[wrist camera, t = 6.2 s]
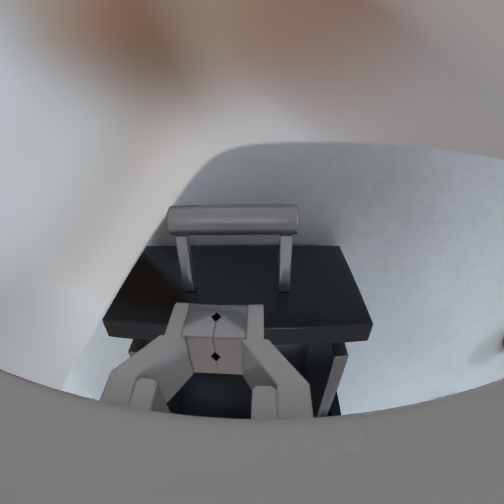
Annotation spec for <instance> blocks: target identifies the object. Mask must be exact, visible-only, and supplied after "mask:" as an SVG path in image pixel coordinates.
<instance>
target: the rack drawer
mask: <svg viewBox="0 0 504 504" xmlns="http://www.w3.org/2000/svg"><path fill="white" fill-rule="evenodd" d="M167 228H168V232H169V234H170V235H176V236H175V239H176V246H146V248H145V249H144V251H143V253H142V254H141V256H140V257H139V259H138V260H137V262H136V264H135V265H134V267H133V268H132V270H131V272H130V273H129V275H128V277H127V278H126V280H125V282H124V283H123V285H122V287H121V288H120V290H119V292H118V293H117V295H116V297H115V299H114V300H113V302H112V304H111V305H110V307H109V309H108V311H107V313H106V314H105V316H104V318H103V323H104V325H105V328H106V330H107V333H108V335H109V336H112V337H121V338H130V339H133V341H132V344H131V346H130V349H129V354H130V357H131V356H133V355H134V354H135V353H137V352H138V351H139V350H141V349H142V348H143V347H145V346H146V345H147V344H149V343H150V342H151V341H153V340H154V339H155V338H157V337H158V336H159V335H164V334H165V331H166V328H167V325H168V322H169V320H170V317H171V314H172V311H173V308H174V305H175V304H176V303H177V302H179V303H200V304H219V305H257V304H263V306H264V339H269V341H270V342H271V343H272V344H273V345H274V346H275V347H276V348H277V349H278V351H279V352H280V353H281V354H282V355H283V356H284V357H285V358H286V359H287V360H288V361H289V363H290V364H291V365H292V366H293V367H294V368H295V369H296V370H297V371H298V372H299V373H300V375H301V376H302V377H303V378H304V379H305V380H306V381H307V382H308V383H309V384H310V393H311V401H312V410H313V418H314V417H327V415H328V412H329V409H330V407H331V404H332V402H333V399H334V396H335V393H336V391H337V388H338V385H339V382H340V379H341V377H342V374H343V371H344V368H345V365H346V362H347V359H348V352H347V349H346V345H345V342H355V341H367V340H368V338H369V335H370V332H371V329H372V326H373V323H372V320H371V318H370V315H369V313H368V310H367V308H366V305H365V303H364V301H363V298H362V296H361V294H360V291H359V289H358V287H357V284H356V282H355V280H354V277H353V275H352V273H351V271H350V269H349V266H348V264H347V262H346V260H345V258H344V255H343V253H342V251H341V249H340V247H339V246H292V242H293V235H296V234H297V233H298V229H299V210H298V206H297V205H295V204H233V205H187V206H171V207H169V209H168V212H167ZM189 235H279V246H191V244H190V236H189ZM193 373H194V374H193V375H192V376H191V377H190V378H189V380H188V381H187V382H186V383H185V384H184V385H183V386H182V387H181V388H180V389H179V391H178V392H177V393H176V394H175V395H174V396H173V397H172V398H171V399H170V400H169V401H168V402H167V406H168V408H169V410H170V412H171V413H173V414H181V415H191V416H202V417H215V418H234V419H251V406H252V389H251V388H250V386H249V385H248V383H247V382H246V380H245V378H244V377H243V375H236V374H220V373H195V372H193Z"/></svg>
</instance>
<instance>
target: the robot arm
mask: <svg viewBox="0 0 504 504" xmlns="http://www.w3.org/2000/svg"><path fill="white" fill-rule="evenodd" d="M193 372H195V373H220V374H236V375H243V377H244V378H245V380H246V382H247V383H248V385H249V386H250V388H251V389H252V406H251V419H234V418H215V417H202V416H191V415H181V414H173V413H171V412H170V410H169V408H168V406H167V402H168V401H169V400H170V399H171V398H172V397H173V396H174V395H175V394H176V393H177V392H178V391H179V389H180V388H181V387H182V386H183V385H184V384H185V383H186V382H187V381H188V380H189V378H190V377H191V376H192V375H193V374H194V373H193ZM0 504H504V378H503V379H500V380H497V381H495V382H492V383H489V384H486V385H483V386H480V387H477V388H474V389H470V390H467V391H464V392H460V393H457V394H453V395H450V396H446V397H442V398H438V399H434V400H430V401H425V402H421V403H416V404H412V405H407V406H401V407H396V408H390V409H384V410H378V411H371V412H364V413H356V414H348V415H338V416H327V417H314V418H313V410H312V401H311V393H310V384H309V383H308V382H307V381H306V380H305V379H304V378H303V377H302V376H301V375H300V373H299V372H298V371H297V370H296V369H295V368H294V367H293V366H292V365H291V364H290V363H289V361H288V360H287V359H286V358H285V357H284V356H283V355H282V354H281V353H280V352H279V351H278V349H277V348H276V347H275V346H274V345H273V344H272V343H271V342H270V341H269V339H264V306H263V304H257V305H219V304H200V303H179V302H177V303H176V304H175V305H174V308H173V311H172V314H171V317H170V320H169V322H168V325H167V328H166V331H165V334H164V335H159V336H158V337H157V338H155V339H154V340H153V341H151V342H150V343H149V344H147V345H146V346H145V347H143V348H142V349H141V350H139V351H138V352H137V353H135V354H134V355H133V356H131V357H130V358H129V359H127V360H126V361H125V362H123V363H122V364H121V365H119V366H118V367H117V368H115V369H114V370H113V371H111V374H110V376H109V378H108V381H107V383H106V386H105V388H104V391H103V393H102V396H101V399H100V401H99V400H95V399H90V398H86V397H82V396H79V395H75V394H71V393H68V392H64V391H61V390H57V389H53V388H51V387H48V386H44V385H41V384H38V383H35V382H32V381H30V380H27V379H24V378H21V377H19V376H16V375H13V374H11V373H8V372H6V371H3V370H1V369H0Z"/></svg>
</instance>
